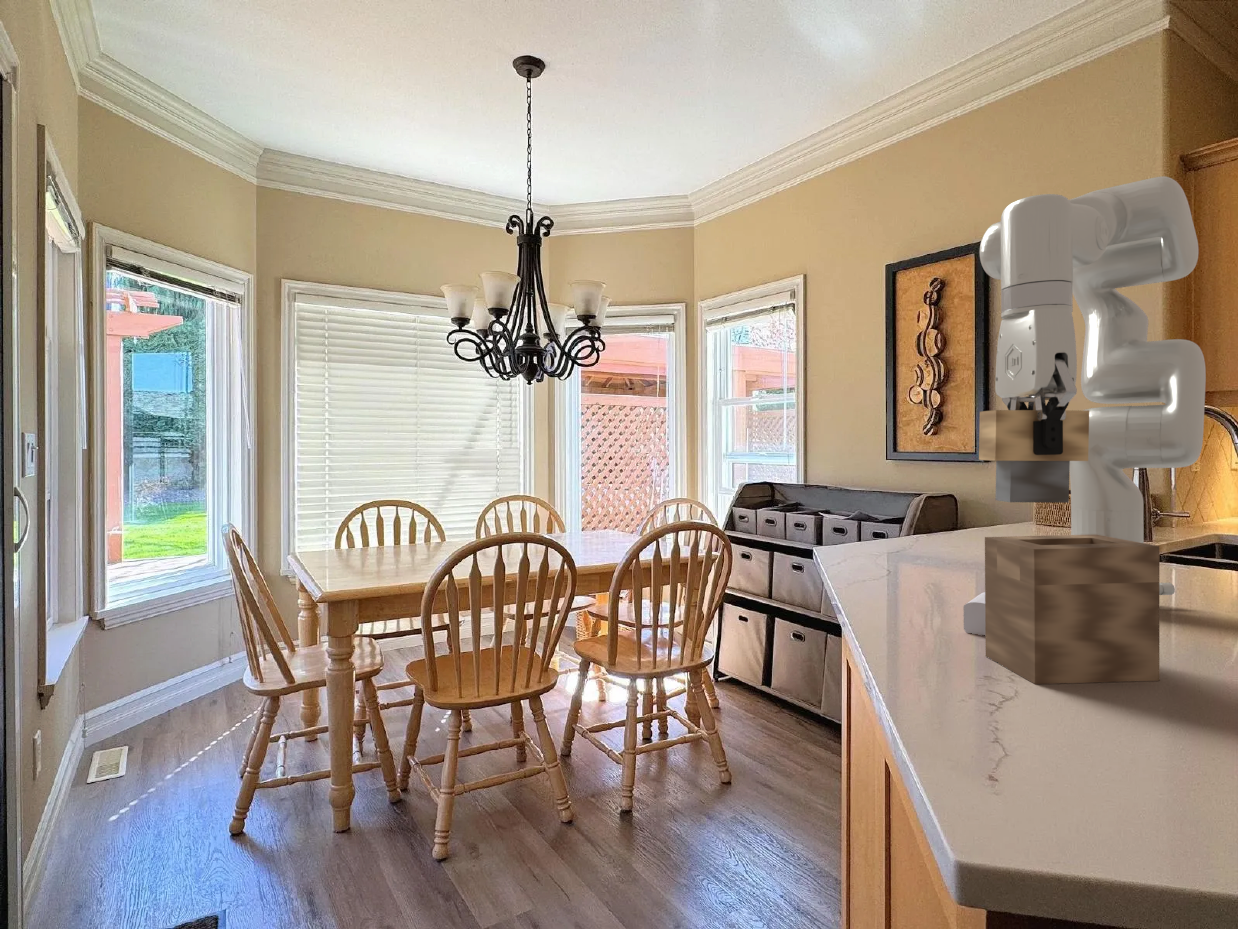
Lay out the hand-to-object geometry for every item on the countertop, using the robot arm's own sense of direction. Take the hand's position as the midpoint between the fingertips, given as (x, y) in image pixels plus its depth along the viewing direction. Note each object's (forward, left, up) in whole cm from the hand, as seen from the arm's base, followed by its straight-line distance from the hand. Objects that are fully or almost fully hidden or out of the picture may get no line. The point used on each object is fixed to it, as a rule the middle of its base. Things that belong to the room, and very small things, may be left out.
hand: (1036, 452), depth 88 cm
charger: (-6, -16, -26) cm, 31 cm away
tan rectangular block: (+1, 0, -6) cm, 6 cm away
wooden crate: (-2, +3, -25) cm, 26 cm away
